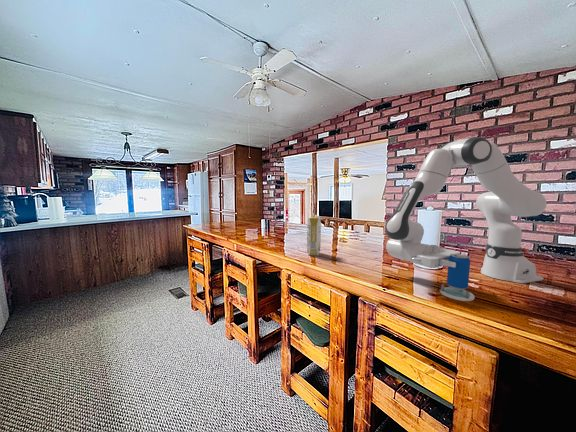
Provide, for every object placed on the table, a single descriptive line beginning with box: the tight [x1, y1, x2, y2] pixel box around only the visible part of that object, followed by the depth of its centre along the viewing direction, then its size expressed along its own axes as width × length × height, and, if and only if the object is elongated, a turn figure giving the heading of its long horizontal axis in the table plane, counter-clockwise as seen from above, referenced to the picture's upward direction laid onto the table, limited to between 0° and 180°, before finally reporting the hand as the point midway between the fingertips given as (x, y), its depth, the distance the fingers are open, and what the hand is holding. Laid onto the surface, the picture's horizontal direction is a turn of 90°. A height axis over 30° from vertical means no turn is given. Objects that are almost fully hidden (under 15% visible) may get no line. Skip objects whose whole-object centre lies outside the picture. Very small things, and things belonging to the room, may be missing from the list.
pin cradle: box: [439, 283, 476, 302], centre depth 88 cm, size 10×10×3 cm
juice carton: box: [306, 214, 322, 257], centre depth 144 cm, size 9×8×24 cm
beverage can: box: [446, 253, 471, 291], centre depth 87 cm, size 6×6×12 cm
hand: (461, 263), depth 86 cm, fingers closed on beverage can, 6 cm apart
